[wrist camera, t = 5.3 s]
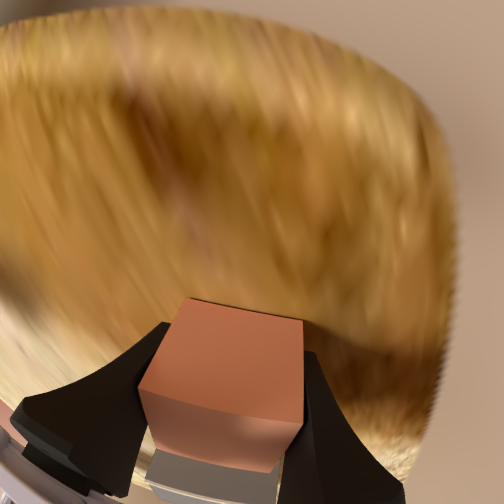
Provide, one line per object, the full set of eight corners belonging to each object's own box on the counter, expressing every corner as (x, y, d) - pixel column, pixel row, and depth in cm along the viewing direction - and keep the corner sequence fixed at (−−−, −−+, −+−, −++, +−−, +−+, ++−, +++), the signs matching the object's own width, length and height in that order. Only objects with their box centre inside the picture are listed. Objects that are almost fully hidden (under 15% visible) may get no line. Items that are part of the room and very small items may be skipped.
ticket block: (262, 477, 21) (256, 521, 16) (172, 459, 21) (158, 500, 17) (280, 450, 17) (274, 509, 13) (164, 426, 18) (143, 480, 13)
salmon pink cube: (278, 390, 14) (269, 473, 9) (186, 371, 14) (156, 448, 9) (302, 320, 11) (303, 423, 7) (186, 297, 12) (137, 387, 7)
